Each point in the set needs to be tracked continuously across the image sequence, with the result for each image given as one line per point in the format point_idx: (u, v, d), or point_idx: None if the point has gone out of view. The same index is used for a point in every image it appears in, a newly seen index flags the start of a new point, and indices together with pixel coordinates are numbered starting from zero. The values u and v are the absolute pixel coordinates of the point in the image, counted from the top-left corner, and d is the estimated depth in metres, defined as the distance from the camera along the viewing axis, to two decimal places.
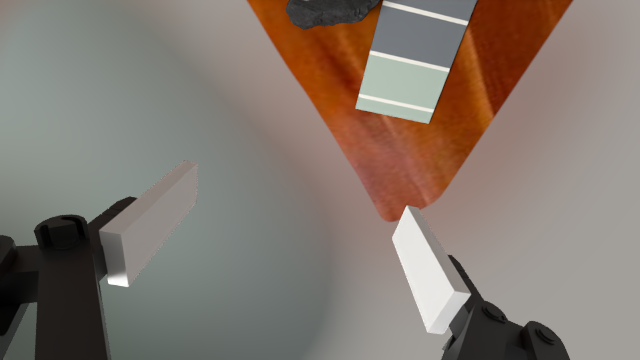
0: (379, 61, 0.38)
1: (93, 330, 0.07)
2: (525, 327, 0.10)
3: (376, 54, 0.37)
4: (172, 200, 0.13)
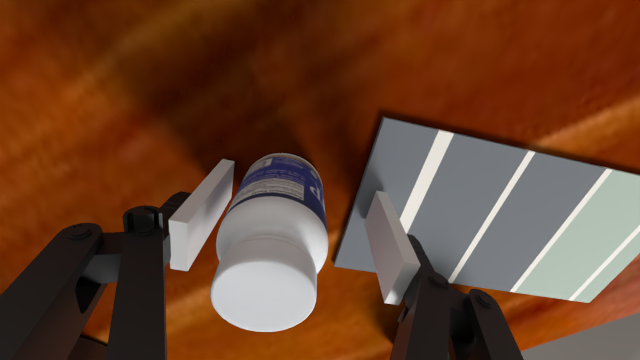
0: (531, 280, 0.22)
1: (156, 312, 0.07)
2: (467, 296, 0.11)
3: (519, 284, 0.22)
4: (217, 195, 0.14)
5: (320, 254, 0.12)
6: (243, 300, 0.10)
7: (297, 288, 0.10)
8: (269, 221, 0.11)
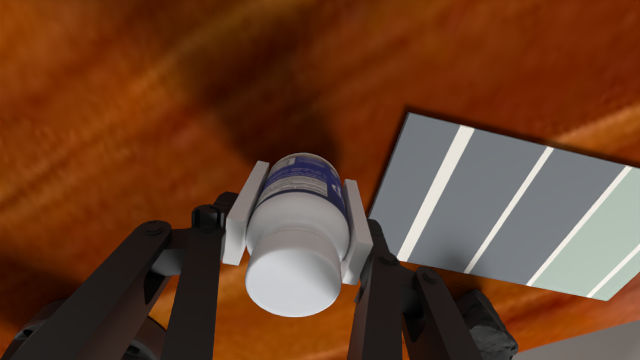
0: (548, 274, 0.23)
1: (209, 306, 0.08)
2: (415, 275, 0.11)
3: (535, 278, 0.23)
4: (258, 195, 0.15)
5: (343, 246, 0.13)
6: (274, 285, 0.11)
7: (324, 276, 0.10)
8: (297, 215, 0.12)
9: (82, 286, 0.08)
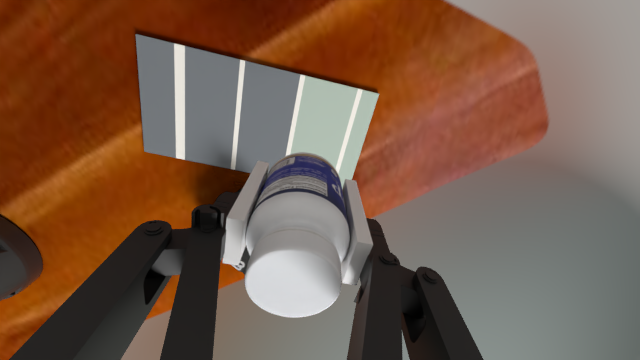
0: None
1: (210, 306, 0.08)
2: (415, 275, 0.11)
3: None
4: (258, 195, 0.15)
5: (343, 247, 0.13)
6: (274, 286, 0.11)
7: (324, 276, 0.10)
8: (297, 215, 0.12)
9: (82, 286, 0.08)
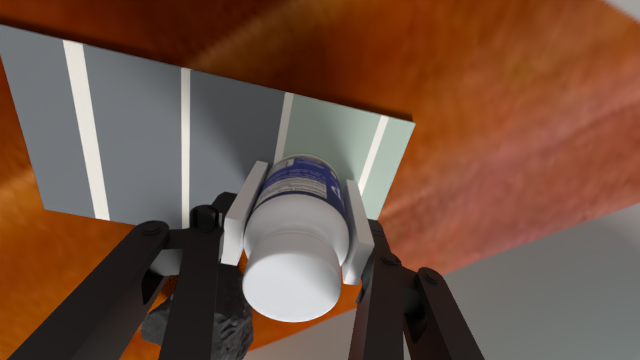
0: None
1: (208, 306, 0.08)
2: (416, 275, 0.11)
3: None
4: (257, 195, 0.15)
5: (343, 250, 0.12)
6: (272, 290, 0.10)
7: (323, 280, 0.10)
8: (296, 218, 0.11)
9: (79, 286, 0.08)
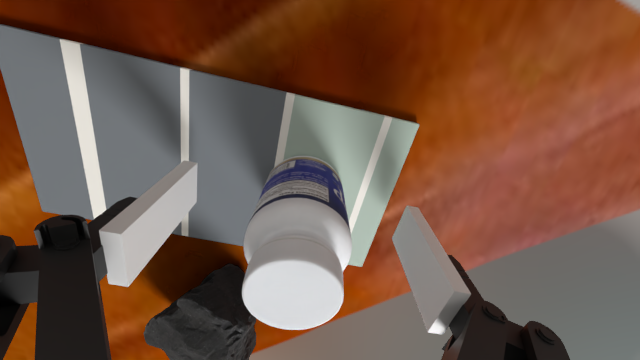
0: None
1: (92, 330, 0.07)
2: (525, 327, 0.10)
3: None
4: (172, 200, 0.13)
5: (345, 255, 0.12)
6: (272, 297, 0.10)
7: (326, 288, 0.10)
8: (297, 222, 0.11)
9: None
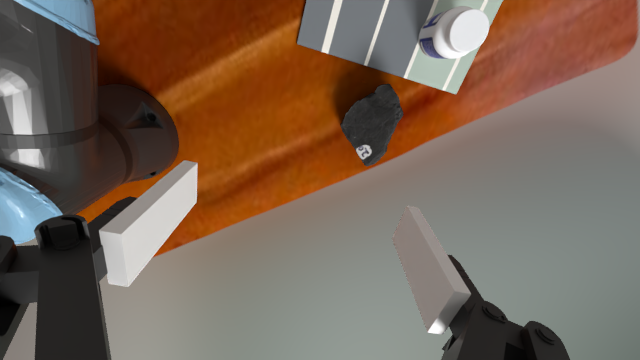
0: (415, 68, 0.37)
1: (93, 330, 0.07)
2: (525, 327, 0.10)
3: (408, 71, 0.37)
4: (172, 200, 0.13)
5: None
6: (462, 30, 0.27)
7: (483, 25, 0.27)
8: None
9: None
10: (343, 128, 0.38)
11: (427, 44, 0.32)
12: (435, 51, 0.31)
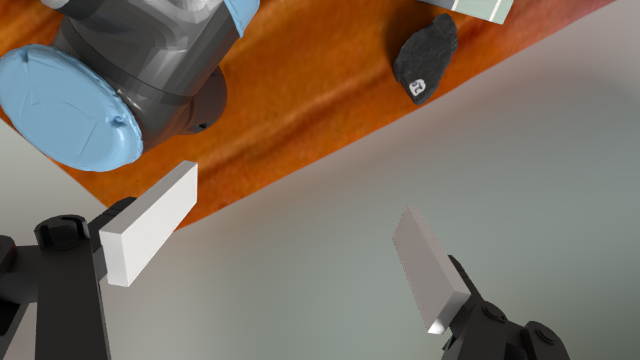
0: None
1: (93, 330, 0.07)
2: (525, 327, 0.10)
3: (456, 2, 0.38)
4: (172, 200, 0.13)
5: None
6: None
7: None
8: None
9: None
10: (397, 64, 0.39)
11: None
12: None
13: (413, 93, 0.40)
